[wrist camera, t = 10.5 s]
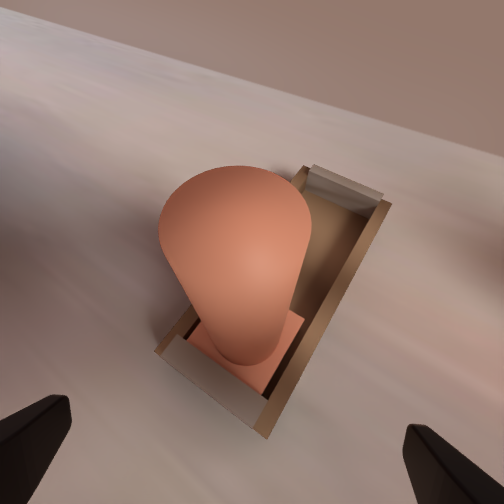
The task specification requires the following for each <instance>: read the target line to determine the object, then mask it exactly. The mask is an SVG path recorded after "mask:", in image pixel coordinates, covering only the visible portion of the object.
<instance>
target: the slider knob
mask: <svg viewBox="0 0 504 504" xmlns="http://www.w3.org/2000/svg"><path fill="white" fill-rule="evenodd" d="M311 226H312V222H311V215H310V211H309V208H308V206H307V203H306V201H305V199H304V198H303V196H302V195H301V194H300V192H299V191H298V190H297V189H296V188H295V187H294V186H293V185H292V184H291V183H289V182H288V181H287V180H285V179H284V178H282V177H280V176H279V175H277V174H275V173H272V172H270V171H267V170H264V169H260V168H256V167H250V166H226V167H220V168H215V169H212V170H208V171H205V172H203V173H200V174H198V175H196V176H194V177H192V178H191V179H189V180H188V181H186V182H185V183H183V184H182V185H181V186H180V187H179V188H177V189H176V191H175V192H174V193H173V194H172V195H171V196H170V198H169V199H168V200H167V202H166V204H165V206H164V207H163V210H162V212H161V215H160V219H159V225H158V235H159V241H160V245H161V248H162V250H163V252H164V254H165V256H166V258H167V260H168V262H169V264H170V265H171V267H172V269H173V271H174V273H175V275H176V276H177V278H178V280H179V282H180V284H181V285H182V287H183V289H184V291H185V293H186V294H187V296H188V298H189V300H190V302H191V303H192V305H193V307H194V309H195V311H196V312H197V314H198V316H199V318H200V320H201V322H200V323H199V325H198V326H197V327H196V329H195V330H194V331H193V333H192V334H191V335H190V336H189V338H188V339H187V340H186V341H187V342H189V343H190V344H192V345H193V346H194V347H196V348H197V349H198V350H200V351H201V352H202V353H204V354H205V355H207V356H208V357H209V358H211V359H212V360H213V361H215V362H216V363H218V364H219V365H220V366H222V367H223V368H224V369H226V370H227V371H228V372H230V373H231V374H233V375H234V376H235V377H237V378H238V379H239V380H241V381H242V382H243V383H245V384H246V385H248V386H249V387H250V388H252V389H253V390H254V391H256V392H257V393H258V394H260V395H261V396H262V394H263V392H264V390H265V389H266V387H267V385H268V383H269V382H270V380H271V378H272V376H273V375H274V373H275V371H276V370H277V368H278V366H279V364H280V363H281V361H282V359H283V357H284V356H285V354H286V352H287V350H288V349H289V347H290V345H291V344H292V342H293V340H294V338H295V337H296V335H297V333H298V331H299V330H300V328H301V326H302V324H303V322H304V320H305V319H304V318H302V317H300V316H299V315H297V314H295V313H294V312H292V311H291V310H289V307H290V303H291V300H292V297H293V293H294V290H295V287H296V283H297V280H298V277H299V273H300V270H301V267H302V263H303V260H304V257H305V253H306V250H307V247H308V243H309V240H310V235H311Z"/></svg>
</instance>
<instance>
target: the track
mask: <svg viewBox="0 0 504 504" xmlns="http://www.w3.org/2000/svg"><path fill="white" fill-rule="evenodd" d="M290 183H291V184H292V185H293V186H294V187H295V188H296V189H297V190H298V191H299V192H300V194H301V195H302V196H303V198H304V199H305V201H306V203H307V206H308V208H309V211H310V215H311V222H312V226H311V235H310V240H309V243H308V247H307V250H306V253H305V257H304V260H303V263H302V267H301V270H300V273H299V277H298V280H297V283H296V287H295V290H294V293H293V297H292V300H291V303H290V307H289V310H291V311H292V312H294V313H295V314H297V315H299V316H300V317H302V318H304V319H305V320H304V322H303V324H302V326H301V328H300V330H299V331H298V333H297V335H296V337H295V338H294V340H293V342H292V344H291V345H290V347H289V349H288V350H287V352H286V354H285V356H284V357H283V359H282V361H281V363H280V364H279V366H278V368H277V370H276V371H275V373H274V375H273V376H272V378H271V380H270V382H269V383H268V385H267V387H266V389H265V390H264V392H263V394H262V396H261V395H260V394H258V393H257V392H256V391H254V390H253V389H252V388H250V387H249V386H248V385H246V384H245V383H243V382H242V381H241V380H239V379H238V378H237V377H235V376H234V375H233V374H231V373H230V372H228V371H227V370H226V369H224V368H223V367H222V366H220V365H219V364H218V363H216V362H215V361H213V360H212V359H211V358H209V357H208V356H207V355H205V354H204V353H202V352H201V351H200V350H198V349H197V348H196V347H194V346H193V345H192V344H190V343H189V342H187V341H186V340H187V339H188V338H189V336H190V335H191V334H192V333H193V331H194V330H195V329H196V327H197V326H198V325H199V323H200V322H201V320H200V318H199V316H198V314H197V312H196V311H195V309H194V307H193V305H191V306H190V307H189V308H188V309H187V311H186V312H185V313H184V314H183V316H182V317H181V318H180V319H179V321H178V322H177V323H176V324H175V326H174V327H173V328H172V329H171V331H170V332H169V333H168V334H167V336H166V337H165V338H164V339H163V341H162V342H161V343H160V344H159V346H158V347H157V348H156V349H155V351H154V352H155V353H157V354H158V355H159V356H160V357H161V358H162V359H163V360H165V361H166V362H167V363H168V364H170V365H171V366H172V367H174V368H175V369H176V370H177V371H179V372H180V373H181V374H183V375H184V376H185V377H186V378H188V379H189V380H190V381H191V382H193V383H194V384H195V385H197V386H198V387H199V388H200V389H202V390H203V391H204V392H206V393H207V394H208V395H209V396H211V397H212V398H213V399H214V400H216V401H217V402H218V403H220V404H221V405H222V406H223V407H225V408H226V409H227V410H229V411H230V412H231V413H232V414H234V415H235V416H236V417H238V418H239V419H240V420H241V421H243V422H244V423H245V424H246V425H248V426H249V427H250V428H253V429H254V430H255V431H256V432H258V433H259V434H260V435H262V436H263V437H264V438H265V439H268V437H269V435H270V433H271V431H272V429H273V428H274V426H275V424H276V422H277V420H278V418H279V416H280V414H281V413H282V411H283V409H284V407H285V405H286V403H287V401H288V399H289V397H290V396H291V394H292V392H293V390H294V388H295V386H296V384H297V382H298V380H299V379H300V377H301V375H302V373H303V371H304V369H305V367H306V365H307V363H308V362H309V360H310V358H311V356H312V354H313V352H314V350H315V348H316V346H317V345H318V343H319V341H320V339H321V337H322V335H323V333H324V331H325V330H326V328H327V326H328V324H329V322H330V320H331V318H332V316H333V314H334V313H335V311H336V309H337V307H338V305H339V303H340V301H341V299H342V297H343V296H344V294H345V292H346V290H347V288H348V286H349V284H350V282H351V280H352V279H353V277H354V275H355V273H356V271H357V269H358V267H359V265H360V263H361V262H362V260H363V258H364V256H365V254H366V252H367V250H368V248H369V247H370V245H371V243H372V241H373V239H374V237H375V235H376V233H377V231H378V230H379V228H380V226H381V224H382V222H383V220H384V218H385V216H386V214H387V213H388V211H389V209H390V207H391V205H392V203H390V202H387V201H385V200H383V199H381V198H382V197H383V195H384V194H383V193H381V192H378V191H376V190H373V189H371V188H369V187H366V186H364V185H362V184H359V183H357V182H355V181H352V180H350V179H347V178H345V177H343V176H340V175H338V174H336V173H333V172H331V171H329V170H326V169H324V168H322V167H319V166H317V165H313V166H312V167H311V168H308V167H306V166H304V165H303V166H302V168H301V169H300V170H299V171H298V173H297V174H296V175H295V176H294V178H293V179H292V180H291V181H290Z"/></svg>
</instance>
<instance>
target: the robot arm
mask: <svg viewBox="0 0 504 504" xmlns="http://www.w3.org/2000/svg"><path fill="white" fill-rule="evenodd" d="M71 423H72V417H71V410H70V402H69V398H68V397H67V396H65V395H55V394H54V395H49V396H47V397H45V398H43V399H41V400H39V401H37V402H36V403H34V404H32V405H30V406H28V407H26V408H24V409H22V410H20V411H18V412H16V413H14V414H12V415H10V416H8V417H6V418H4V419H2V420H1V421H0V504H27V503H28V501H29V500H30V498H31V496H32V495H33V493H34V491H35V490H36V488H37V486H38V485H39V483H40V481H41V479H42V478H43V476H44V474H45V472H46V471H47V469H48V467H49V465H50V464H51V462H52V460H53V458H54V456H55V455H56V453H57V451H58V449H59V448H60V446H61V444H62V442H63V440H64V439H65V437H66V435H67V433H68V432H69V430H70V427H71ZM403 459H404V462H405V465H406V469H407V472H408V475H409V478H410V481H411V484H412V487H413V490H414V493H415V497H416V500H417V503H418V504H504V487H503V486H502V485H501V484H499V483H498V482H497V481H496V480H494V479H493V478H492V477H491V476H489V475H488V474H487V473H486V472H484V471H483V470H482V469H481V468H479V467H478V466H477V465H476V464H474V463H473V462H472V461H471V460H469V459H468V458H467V457H466V456H464V455H463V454H462V453H461V452H459V451H458V450H457V449H456V448H454V447H453V446H452V445H451V444H449V443H448V442H447V441H446V440H444V439H443V438H442V437H441V436H439V435H438V434H437V433H436V432H434V431H433V430H432V429H431V428H429V427H428V426H426V425H421V424H409V425H408V426H407V430H406V435H405V439H404V444H403Z"/></svg>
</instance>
